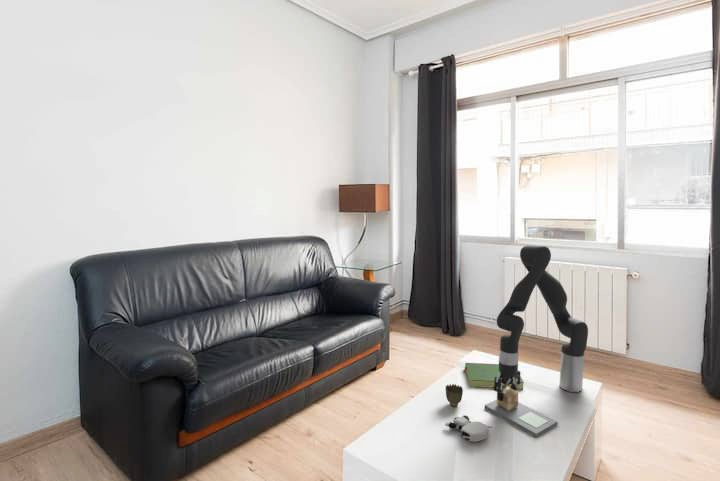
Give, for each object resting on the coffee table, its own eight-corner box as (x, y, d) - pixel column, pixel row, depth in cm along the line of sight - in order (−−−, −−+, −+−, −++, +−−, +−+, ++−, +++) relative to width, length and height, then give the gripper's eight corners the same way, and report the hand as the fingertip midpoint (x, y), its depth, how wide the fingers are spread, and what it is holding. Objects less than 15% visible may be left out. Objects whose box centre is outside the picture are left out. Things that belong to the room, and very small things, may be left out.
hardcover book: (513, 371, 202) (513, 364, 201) (523, 390, 183) (524, 382, 183) (463, 369, 205) (463, 362, 204) (468, 387, 186) (468, 379, 186)
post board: (505, 398, 175) (506, 382, 174) (557, 425, 155) (558, 407, 154) (484, 408, 167) (485, 391, 166) (536, 437, 147) (537, 418, 146)
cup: (463, 410, 165) (463, 393, 164) (445, 409, 167) (445, 391, 166) (462, 401, 173) (462, 384, 172) (445, 400, 174) (445, 383, 173)
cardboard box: (505, 400, 170) (506, 385, 169) (517, 406, 165) (518, 391, 164) (496, 404, 167) (497, 389, 166) (508, 410, 162) (509, 395, 161)
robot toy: (443, 431, 153) (472, 449, 141) (442, 420, 153) (472, 437, 140) (465, 421, 160) (495, 437, 147) (464, 410, 159) (495, 426, 147)
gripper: (511, 353, 170) (509, 389, 172) (489, 361, 163) (488, 398, 165) (526, 360, 164) (525, 396, 166) (505, 368, 156) (503, 406, 158)
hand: (506, 397), depth 165 cm, fingers open, 8 cm apart
